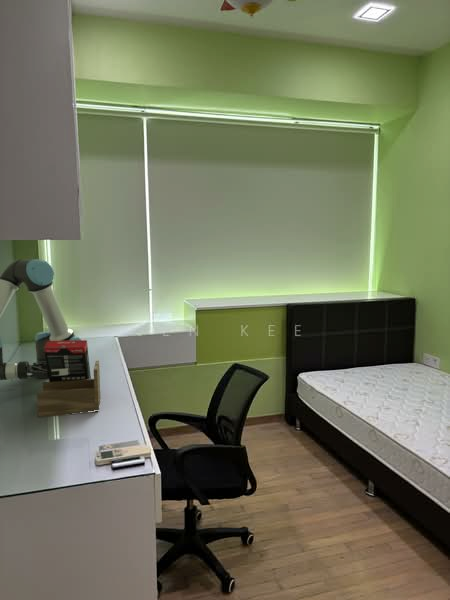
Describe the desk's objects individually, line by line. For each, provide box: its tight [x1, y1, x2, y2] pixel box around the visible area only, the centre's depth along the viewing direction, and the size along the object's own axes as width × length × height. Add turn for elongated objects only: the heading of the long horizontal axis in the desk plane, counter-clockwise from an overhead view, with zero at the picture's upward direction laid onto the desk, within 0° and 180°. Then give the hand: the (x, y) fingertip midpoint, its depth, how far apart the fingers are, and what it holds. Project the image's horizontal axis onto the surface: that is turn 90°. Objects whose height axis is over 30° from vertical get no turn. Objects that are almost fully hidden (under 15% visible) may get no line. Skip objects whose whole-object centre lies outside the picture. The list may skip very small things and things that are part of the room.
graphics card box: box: [44, 339, 92, 382], centre depth 189 cm, size 17×7×27 cm, turn 97°
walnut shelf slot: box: [36, 360, 102, 418], centre depth 180 cm, size 14×23×18 cm, turn 103°
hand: (69, 367), depth 192 cm, fingers open, 13 cm apart
